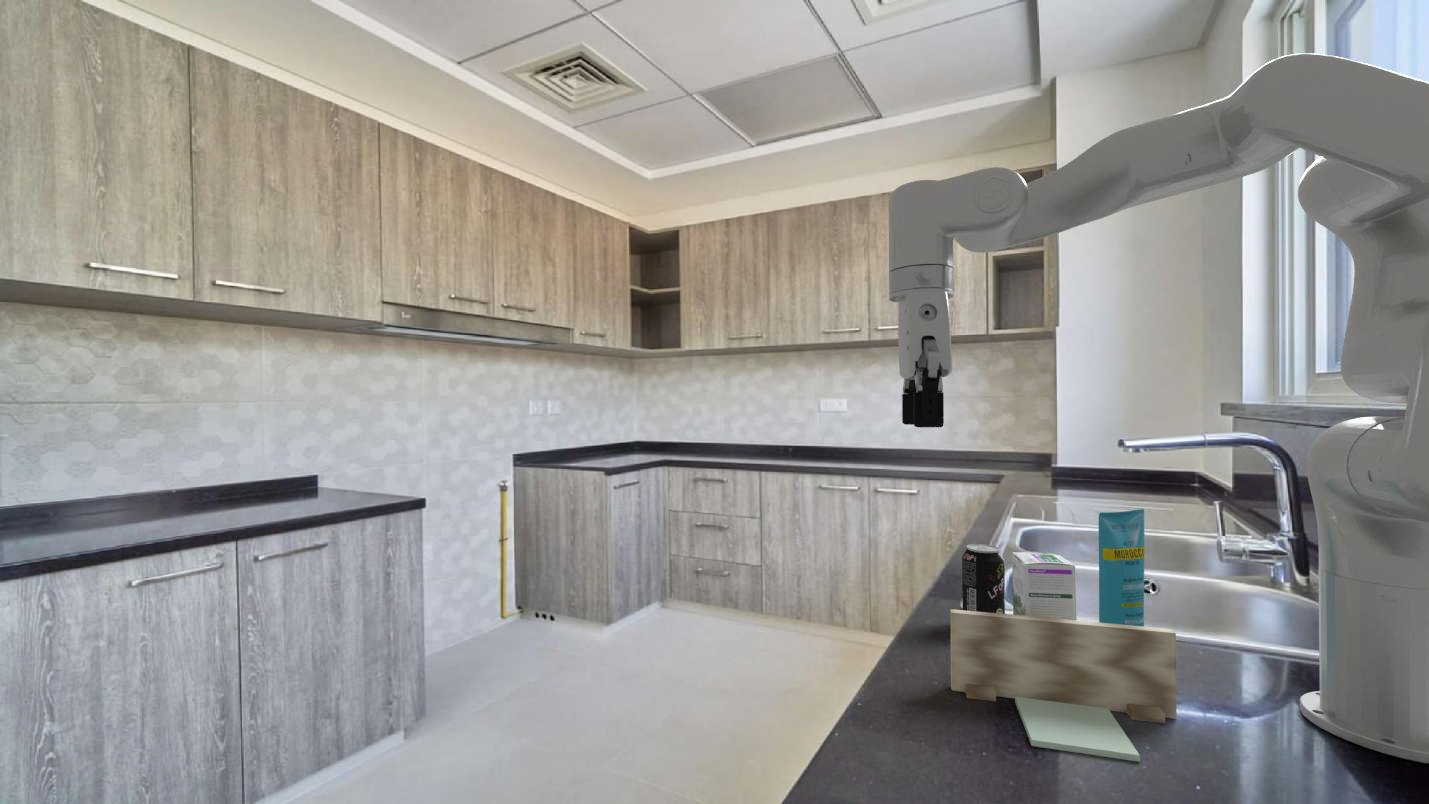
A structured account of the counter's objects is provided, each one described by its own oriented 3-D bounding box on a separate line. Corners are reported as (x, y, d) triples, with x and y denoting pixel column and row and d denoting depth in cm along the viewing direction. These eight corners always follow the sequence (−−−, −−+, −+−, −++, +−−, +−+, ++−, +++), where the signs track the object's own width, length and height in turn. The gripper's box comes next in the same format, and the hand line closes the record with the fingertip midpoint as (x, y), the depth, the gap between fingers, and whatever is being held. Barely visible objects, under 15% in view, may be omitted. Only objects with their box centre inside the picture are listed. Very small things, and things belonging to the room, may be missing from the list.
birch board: (1166, 707, 66) (1165, 624, 66) (1182, 725, 62) (1181, 638, 62) (950, 680, 72) (949, 605, 72) (952, 695, 68) (952, 616, 68)
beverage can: (1003, 624, 91) (1003, 544, 91) (1006, 638, 85) (1005, 553, 85) (962, 619, 93) (962, 541, 93) (962, 632, 87) (962, 549, 88)
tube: (1120, 669, 75) (1119, 515, 75) (1084, 654, 80) (1083, 508, 80) (1160, 659, 78) (1158, 511, 78) (1122, 646, 82) (1121, 505, 82)
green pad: (1108, 714, 64) (1108, 708, 64) (1139, 761, 56) (1139, 755, 56) (1015, 702, 67) (1015, 696, 67) (1031, 745, 58) (1031, 739, 58)
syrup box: (1080, 689, 70) (1079, 564, 70) (1024, 685, 71) (1024, 561, 71) (1062, 668, 75) (1061, 552, 76) (1011, 664, 77) (1010, 550, 77)
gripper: (970, 269, 65) (971, 428, 65) (939, 297, 82) (939, 423, 82) (898, 272, 66) (898, 428, 66) (882, 299, 83) (882, 423, 83)
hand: (921, 425), depth 74 cm, fingers open, 9 cm apart
